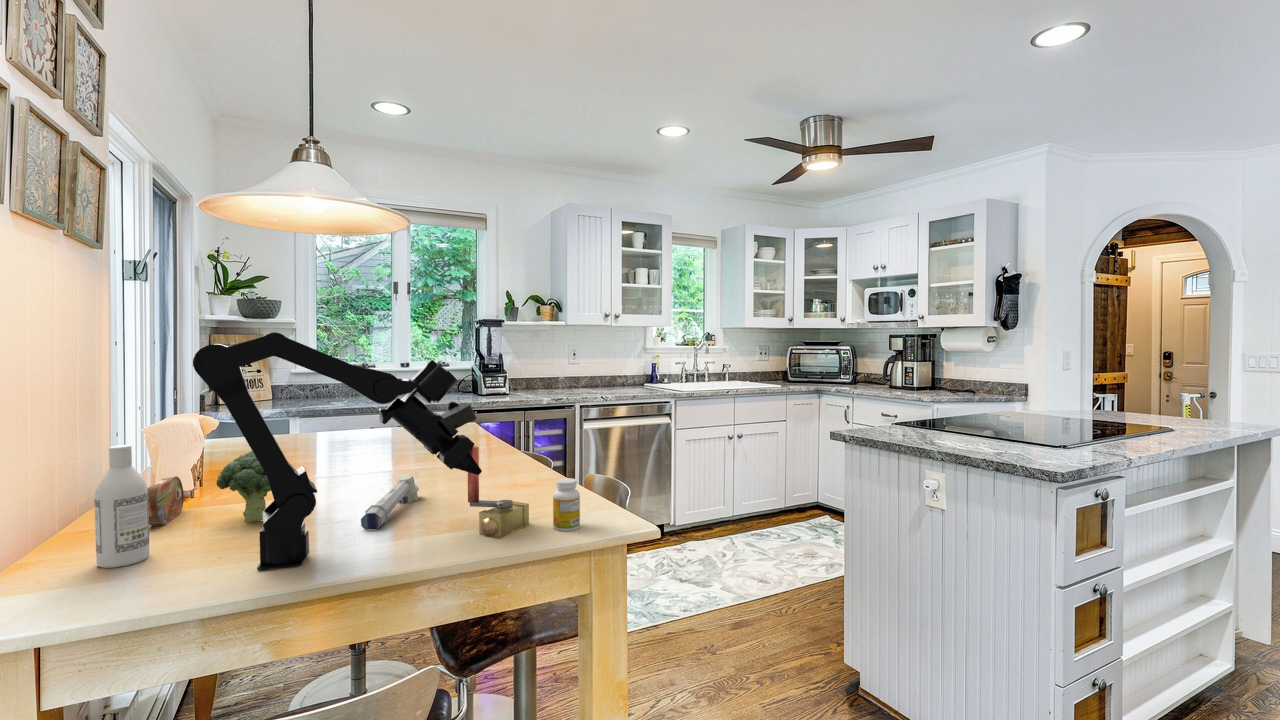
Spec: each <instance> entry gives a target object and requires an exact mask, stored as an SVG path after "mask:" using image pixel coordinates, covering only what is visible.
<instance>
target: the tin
mask: <svg viewBox="0 0 1280 720" xmlns="http://www.w3.org/2000/svg"><path fill="white" fill-rule="evenodd" d="M183 487H184V486H183V483H182V481H181V479H180V477H179V476H172V477H164V478H161V479H160V480H158V481H156V482H155V483H153V484H152V485H150V486H147V489H148V507H149V527H150V526H151V527H155V526H161V525H162V526H163V525H164V526H166V525H168V524H169V523H171V522H172V520H174V519H175V518H176V517H178V516H179V515H180V514H181V512H182V511H183V506H184V499H185V498H184V497H185V496H184V494H185V493H184V488H183ZM167 523H168V524H167Z"/></svg>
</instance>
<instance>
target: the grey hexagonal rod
mask: <svg viewBox="0 0 1280 720" xmlns="http://www.w3.org/2000/svg"><path fill="white" fill-rule="evenodd" d="M418 491H419V485H418V484H416V483H415V478H414V476H413V474H411V473H406V474H402V475H399V476H398V477H397V480H396V484H395V485H394V486H393V487H392V488H391V489H390V490H389V491H388V492H387V493H386V494H384V495H383V496H382V497H381V498H380V499H379V500H378V501H376V503H375V504H371V505H370V506H369V507H368V508H367V509H366V510H365V511H364V512H365V514H364V515H363V516H362V517H361V518H360V527H361V528H363V529H364V530H365V529H377V530H378V529H379V528H380V527H381V524H383V525H384V524H385V523H386V522H387V521H388V520H389V515H390V514H391V513H392V511H393V510H394V509H395V508H396V507H397V505H398V504H408V503H407V502H409V503H412V501H414V500H416V501H417V499H418Z"/></svg>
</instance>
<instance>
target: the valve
mask: <svg viewBox="0 0 1280 720" xmlns="http://www.w3.org/2000/svg"><path fill="white" fill-rule="evenodd" d="M512 501H513V500H512ZM478 515H479V517H478V518H479V520H478V522H479V523H478V527H479V529H478V530H479V533H478V534H479V535H481V536H485V537H488V538H496V537H497V538H496V539H502V538H504V537H506V536H508V535H510V534H511V532H512V533H514V532H516V531H518V530H520V529H521V528H525V527H527V526H529V525H530V503H527V502H521V501H513V507H512V508H509V509H498V508H497V507H491V508H490V509H488V510H486V509H483V510H482V511H479V512H478ZM515 530H516V531H515ZM513 531H514V532H513Z"/></svg>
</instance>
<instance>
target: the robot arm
mask: <svg viewBox="0 0 1280 720" xmlns="http://www.w3.org/2000/svg"><path fill="white" fill-rule="evenodd" d="M272 357H277V358H279V359H282V360H284V361H286V362H290V363H292V364H295V365H297V366H299V367H302V368H305V369H307V370H309V371H312V372H315V373H317V374H320V375H322V376H325V377H328V378H330V379H331V380H335V381H337V382H340V383H342V384H343V385H344V386H347V387H348V388H350V389H352V390H354V391H355V392H357V393H358V394H360V395H361V396H363V397H365V398H366V399H368V400H370V401H372V402H374V403H377V404H379V405H387V404H389V403H390V404H389V405H388V406H387V407H386V408H379V409H378V412H379V422H380V423H381V424H383V425H386V424H388V422H389V421H391V420H394V421H395V422H396V423H397V424H399V426H401V428H403V429H404V430H405V431H407V432H408V433H409V434H410V435H411V436H412V437H414V438H415V439H416V440H417V441H419V442H420V443H421V445H423V448H424V449H426V450H427V452H429V453H430V454H431V455H435V456H436V455H437V456H436V458H437V459H438V460H439V461H440V462H442V463H443V465H444V466H446V467H447V468H448V469H450V470H453V469H455V470H459V471H463V472H467V473H468V472H469V473H473V474H476V475H479V476H480V474H482V472H483V471H482V468H481V467H480V465H479V466H478V464H477V463H476V462H475V460H474V459H473V457H472V456H471V454H470V453H469V451H470V450H471V449H472V448H473V447H474V446H476V444H475V443H474V442H473V441H472V439H470V438H469V437H467V436H466V435H464V434H458V433H459V430H458V429H459V428H460V427H462V426H464V425H466V424H468V423H470V422H471V423H472V422H474V421H476V420H477V415H476V413H475V412H474V410H473V407H472V405H471V404H470V403H468V402H460V404H459V403H457V402H456V401H454V400H452V401H450V402H448V403H446V407H445V408H446V410H445V411H444V412H443V413H442V414H439V413H437V412H435V411H432V409H430V408H429V407H428V406H427V405H426V404H432V402H433V403H437V404H438V403H439V402H441V400H442V399H443V398H444V397H445V396H446V395H447V394H448V392H450V391H451V390H452V389H453V387H454V386H455V385H457V383H458V382H459V381H458V379H457V378H456V377H455V376H454V375H453V373H451V372H450V371H449V369H448V370H446V369H445V368H444V367H443V366H441V365H439V364H438V363H437V362H435V360H434V359H428V360H427V361H426V362H425V364H424V365H423V367H421V368H420V369H419V371H418V372H417V373H416V374H415V375H414V376H413V377H412V378H411V379H410V378H406V377H403V378H397V377H396V376H395V375H393V374H392V373H389V372H385V371H382V370H378V369H377V370H376V369H373V368H368V367H365V366H360V365H356V364H351V363H349V362H347V361H344V360H342V359H340V358H336V357H335V356H333V355H330V354H327V353H325V352H322V351H320V350H317V349H315V348H312V347H310V346H308V345H306V344H303V343H301V342H298V341H297V340H293V339H291V338H289V337H287V336H285V335H284V334H282V333H281V332H280V333H279V332H275V331H274V332H267V333H265V335H263V336H260V337H256V338H253V339H249V340H247V341H243V342H238V343H236V344H232V345H224V344H222V343H221V344H220V343H214V344H213V343H212V344H207V345H205V346H203V347H202V348H199V350H197V352H196V353H195V354H194V357H193V358H192V359H193V360H192V366H193V369H194V371H195V372H196V374H197V375H198V376H199V377H200V378H201V380H203V382H204V383H205V385H206V386H208V387H209V389H210V390H212V392H213V393H214V394H216V396H217V397H218V398H219V399H220V400H221V401H222V402H223V403H224V404H225V406H226V408H227V410H228V411H229V413H230V415H231V417H232V418H233V420H234V422H235V423H236V425H237V427H238V428H239V430H240V432H241V434H242V435H243V437H244V438H245V441H246V443H247V444H248V447H250V449H251V451H253V453H254V454H255V456H256V458H257V460H258V461H259V463H260V465H261V467H262V468H263V470H264V472H265V473H266V475H267V478H268V482H269V485H270V488H271V491H270V492H271V493H272V494H271V495H272V498H273V500H272V501H271V502H270V503H269V505H267V507H266V508H265V509H264V510H263V511H262V527H261V529H260V530H259V564H258V565H257V567H256V570H257V571H266V570H267V571H268V570H275V569H277V570H278V569H284V568H292V567H299V566H302V565H303V563H304V561H305V560H306V559H307V558H308V556H309V553H310V537H309V536H310V533H309V532H310V531H309V530H306V522H305V518H307V517H308V516H310V515H312V513H313V511H314V510H315V508H316V506H317V505H316V504H317V499H316V496H315V494H317V493H318V489H317V487H316V485H315V483H314V482H313V481H311V480H310V478H309V476H308V475H309V474H308V473H307V470H306V467H305V466H304V465H301V466H299V468H295V467H294V466H293V465H292V464H291V463H290V462H289V460H288V459H287V457H286V456H285V454H284V452H283V450H282V449H281V447H280V445H279V443H278V441H277V440H276V438H275V437H274V434H273V433H272V431H271V429H270V427H269V426H268V424H267V422H266V420H265V418H264V417H263V415H262V413H261V412H260V409H259V408H258V407H257V405H256V403H255V401H254V400H253V398H252V396H251V394H250V393H249V389H248V386H247V384H246V383H247V382H246V379H245V377H244V374H243V371H242V367H243V366H247V365H250V364H251V365H252V364H253V363H256V362H259V361H262V360H265V359H268V358H272ZM402 395H404V396H403V397H401V398H399V397H398V396H402ZM415 395H417V396H418V397H420V398H421V399H422V400H423V401H425V402H426V404H424V402H422V401H421V400H420V399H419V398H417V396H415ZM314 493H315V494H314Z"/></svg>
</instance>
